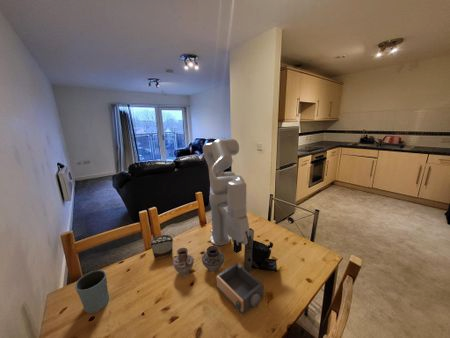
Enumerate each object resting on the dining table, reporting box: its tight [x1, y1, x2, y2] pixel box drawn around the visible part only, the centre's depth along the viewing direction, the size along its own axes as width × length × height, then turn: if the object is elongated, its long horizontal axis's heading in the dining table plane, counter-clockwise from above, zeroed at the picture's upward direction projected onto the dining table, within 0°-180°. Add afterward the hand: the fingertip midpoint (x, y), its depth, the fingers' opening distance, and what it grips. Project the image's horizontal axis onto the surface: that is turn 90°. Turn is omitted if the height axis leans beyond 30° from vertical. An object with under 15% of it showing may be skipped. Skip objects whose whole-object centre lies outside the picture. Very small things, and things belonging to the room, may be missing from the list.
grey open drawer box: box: [216, 262, 264, 316], centre depth 80 cm, size 18×12×7 cm
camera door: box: [216, 275, 244, 312], centre depth 77 cm, size 16×2×5 cm, turn 39°
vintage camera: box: [243, 227, 278, 274], centre depth 92 cm, size 10×16×20 cm, turn 79°
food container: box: [149, 234, 175, 260], centre depth 106 cm, size 12×6×10 cm, turn 108°
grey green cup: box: [74, 269, 110, 314], centre depth 77 cm, size 10×10×12 cm
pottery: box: [172, 245, 226, 277], centre depth 93 cm, size 11×25×12 cm, turn 99°
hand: (237, 251), depth 81 cm, fingers closed
